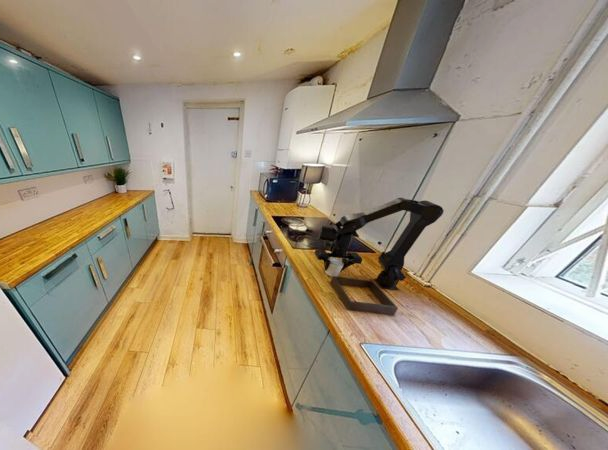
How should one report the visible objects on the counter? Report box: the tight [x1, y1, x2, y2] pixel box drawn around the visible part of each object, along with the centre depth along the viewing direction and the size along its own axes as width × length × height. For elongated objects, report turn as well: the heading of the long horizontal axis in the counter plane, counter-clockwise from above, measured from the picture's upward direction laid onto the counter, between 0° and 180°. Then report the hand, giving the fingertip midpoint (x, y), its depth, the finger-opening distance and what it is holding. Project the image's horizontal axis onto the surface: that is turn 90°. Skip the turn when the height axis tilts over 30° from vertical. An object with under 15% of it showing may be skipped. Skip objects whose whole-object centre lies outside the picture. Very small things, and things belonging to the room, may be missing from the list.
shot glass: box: [324, 257, 344, 278], centre depth 95 cm, size 7×7×7 cm
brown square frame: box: [329, 276, 399, 317], centre depth 82 cm, size 17×16×4 cm
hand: (332, 270), depth 96 cm, fingers closed on shot glass, 6 cm apart
